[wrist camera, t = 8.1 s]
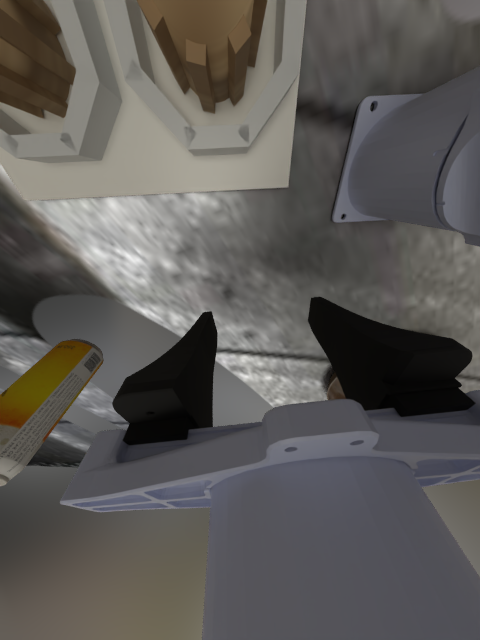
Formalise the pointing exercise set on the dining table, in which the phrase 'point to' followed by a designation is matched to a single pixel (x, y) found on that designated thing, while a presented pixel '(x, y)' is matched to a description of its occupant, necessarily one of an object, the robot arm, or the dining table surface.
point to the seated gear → (32, 59)
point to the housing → (153, 113)
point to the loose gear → (208, 43)
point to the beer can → (42, 401)
